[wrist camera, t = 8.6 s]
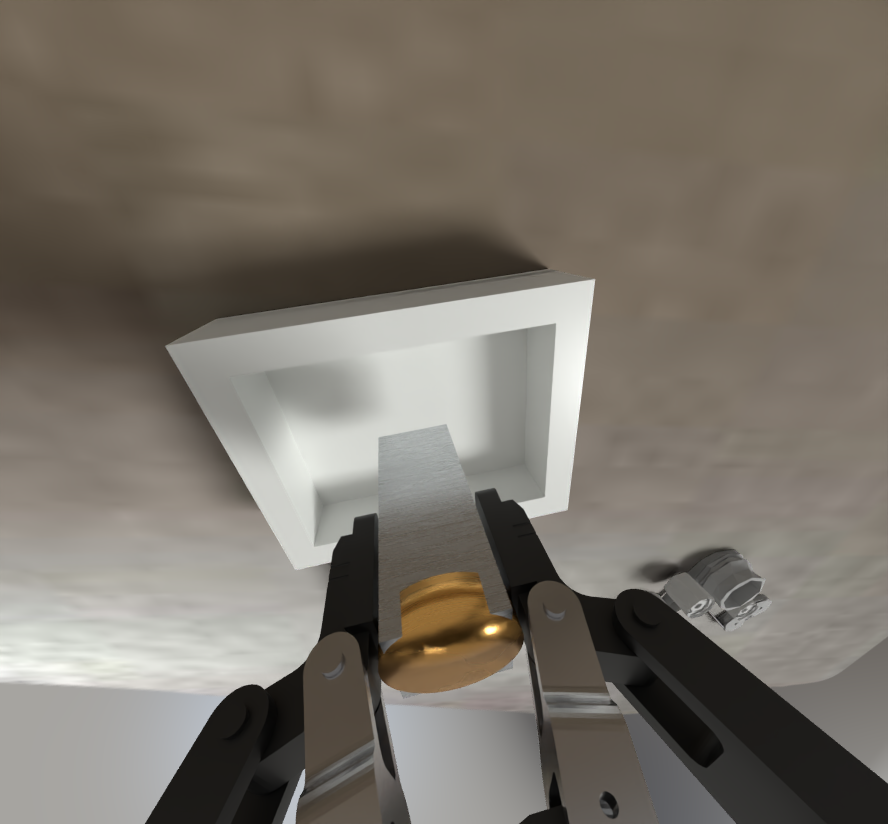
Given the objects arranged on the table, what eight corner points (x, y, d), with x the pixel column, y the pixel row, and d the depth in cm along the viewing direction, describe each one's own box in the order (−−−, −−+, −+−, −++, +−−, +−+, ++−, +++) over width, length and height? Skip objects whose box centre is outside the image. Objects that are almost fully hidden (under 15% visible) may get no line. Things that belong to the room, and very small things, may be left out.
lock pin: (369, 432, 14) (361, 639, 7) (452, 417, 14) (525, 597, 7) (387, 494, 15) (394, 706, 8) (459, 478, 16) (522, 670, 9)
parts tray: (216, 318, 15) (164, 346, 11) (549, 268, 16) (595, 279, 12) (309, 515, 21) (295, 570, 18) (539, 467, 23) (567, 510, 19)
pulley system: (607, 546, 31) (561, 640, 37) (645, 592, 26) (585, 689, 33) (800, 530, 38) (734, 611, 44) (854, 564, 33) (772, 649, 40)
